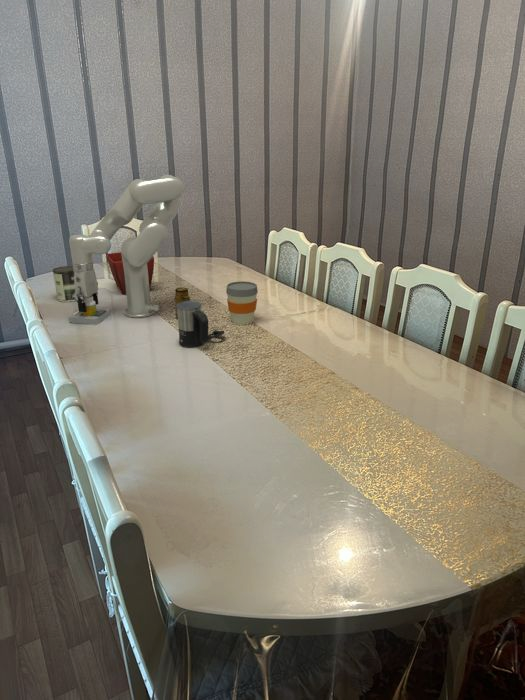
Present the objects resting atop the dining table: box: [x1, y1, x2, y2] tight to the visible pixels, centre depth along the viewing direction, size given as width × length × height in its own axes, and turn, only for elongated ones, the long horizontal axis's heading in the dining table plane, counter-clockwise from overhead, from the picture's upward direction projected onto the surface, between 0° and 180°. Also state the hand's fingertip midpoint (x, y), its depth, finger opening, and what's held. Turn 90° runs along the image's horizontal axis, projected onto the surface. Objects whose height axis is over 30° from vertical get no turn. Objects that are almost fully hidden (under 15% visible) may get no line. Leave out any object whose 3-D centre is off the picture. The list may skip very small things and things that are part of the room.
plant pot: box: [105, 251, 155, 295], centre depth 248 cm, size 19×19×17 cm
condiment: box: [171, 287, 191, 320], centre depth 213 cm, size 7×8×12 cm
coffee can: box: [52, 265, 82, 303], centre depth 236 cm, size 10×10×14 cm
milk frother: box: [176, 300, 225, 348], centre depth 189 cm, size 14×16×15 cm
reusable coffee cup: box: [225, 280, 259, 325], centre depth 208 cm, size 13×13×15 cm
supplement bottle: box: [83, 295, 97, 316], centre depth 212 cm, size 5×5×10 cm
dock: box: [68, 308, 111, 325], centre depth 213 cm, size 12×12×3 cm
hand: (88, 307), depth 212 cm, fingers open, 9 cm apart
